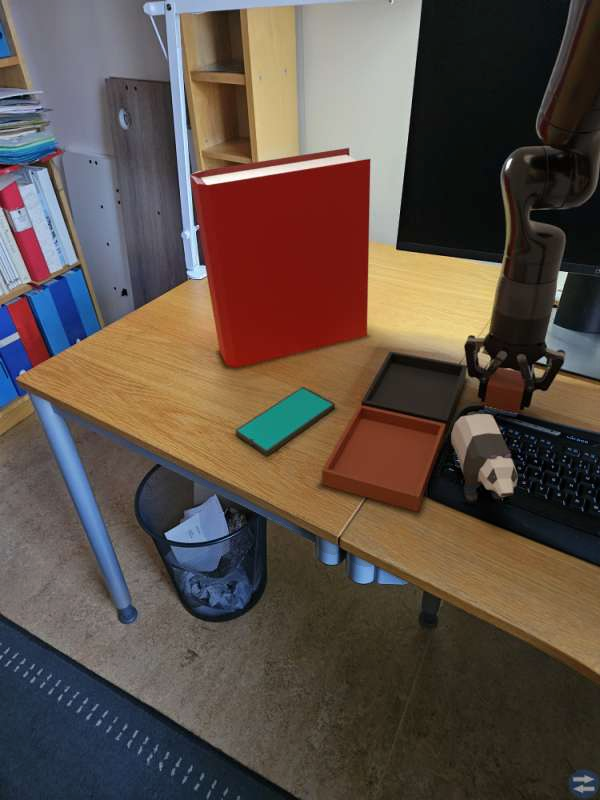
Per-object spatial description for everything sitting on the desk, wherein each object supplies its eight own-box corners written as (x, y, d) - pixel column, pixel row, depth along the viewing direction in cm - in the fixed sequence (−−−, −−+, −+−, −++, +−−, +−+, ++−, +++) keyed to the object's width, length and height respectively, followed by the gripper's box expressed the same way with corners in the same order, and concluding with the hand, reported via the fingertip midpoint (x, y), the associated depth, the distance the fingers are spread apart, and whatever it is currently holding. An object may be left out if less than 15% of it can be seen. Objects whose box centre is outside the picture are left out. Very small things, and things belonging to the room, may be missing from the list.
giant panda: (446, 452, 80) (453, 399, 74) (484, 449, 80) (495, 396, 74) (476, 533, 68) (487, 478, 62) (521, 530, 68) (537, 475, 62)
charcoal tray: (465, 379, 94) (467, 365, 92) (445, 434, 83) (447, 420, 81) (389, 364, 98) (389, 351, 97) (360, 415, 88) (361, 401, 86)
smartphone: (335, 403, 89) (266, 452, 81) (335, 407, 89) (267, 456, 81) (302, 386, 93) (233, 430, 85) (302, 390, 94) (234, 434, 85)
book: (349, 316, 113) (349, 147, 93) (366, 335, 107) (370, 158, 87) (218, 347, 106) (188, 172, 87) (228, 369, 100) (199, 186, 80)
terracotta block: (521, 399, 87) (527, 372, 84) (517, 418, 83) (523, 391, 80) (488, 392, 89) (493, 366, 86) (482, 411, 85) (487, 384, 82)
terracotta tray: (444, 438, 82) (446, 423, 81) (417, 512, 72) (419, 497, 70) (359, 418, 87) (359, 404, 85) (322, 485, 76) (321, 470, 74)
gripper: (463, 308, 75) (450, 407, 86) (579, 325, 70) (550, 428, 80) (474, 285, 81) (460, 381, 91) (582, 299, 76) (555, 399, 86)
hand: (503, 403), depth 86 cm, fingers closed on terracotta block, 5 cm apart
